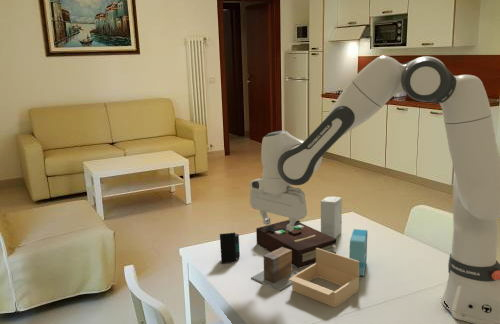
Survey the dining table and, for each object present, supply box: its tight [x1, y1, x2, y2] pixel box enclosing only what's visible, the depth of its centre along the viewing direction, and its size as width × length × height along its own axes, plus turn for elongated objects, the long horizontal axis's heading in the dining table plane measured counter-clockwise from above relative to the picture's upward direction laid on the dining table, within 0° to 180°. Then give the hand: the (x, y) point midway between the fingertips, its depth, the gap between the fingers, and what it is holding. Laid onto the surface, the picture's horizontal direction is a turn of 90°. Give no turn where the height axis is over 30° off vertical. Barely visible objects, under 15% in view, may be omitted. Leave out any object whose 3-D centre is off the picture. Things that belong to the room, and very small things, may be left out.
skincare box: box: [320, 195, 343, 239], centre depth 179 cm, size 8×6×15 cm
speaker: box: [219, 232, 241, 265], centre depth 161 cm, size 8×6×10 cm
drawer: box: [289, 248, 360, 308], centre depth 137 cm, size 15×15×10 cm
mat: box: [250, 270, 298, 292], centre depth 147 cm, size 12×12×1 cm
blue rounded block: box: [348, 228, 368, 277], centre depth 151 cm, size 12×4×12 cm, turn 162°
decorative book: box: [255, 219, 337, 269], centre depth 168 cm, size 19×8×30 cm
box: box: [263, 247, 293, 283], centre depth 146 cm, size 4×9×8 cm, turn 137°
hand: (278, 226), depth 143 cm, fingers open, 8 cm apart
